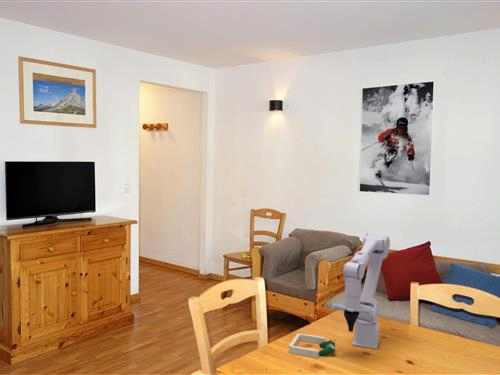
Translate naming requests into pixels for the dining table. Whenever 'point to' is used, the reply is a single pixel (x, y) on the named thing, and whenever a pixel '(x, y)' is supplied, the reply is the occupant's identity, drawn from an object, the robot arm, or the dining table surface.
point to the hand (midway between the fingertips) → (350, 330)
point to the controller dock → (305, 351)
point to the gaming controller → (327, 347)
